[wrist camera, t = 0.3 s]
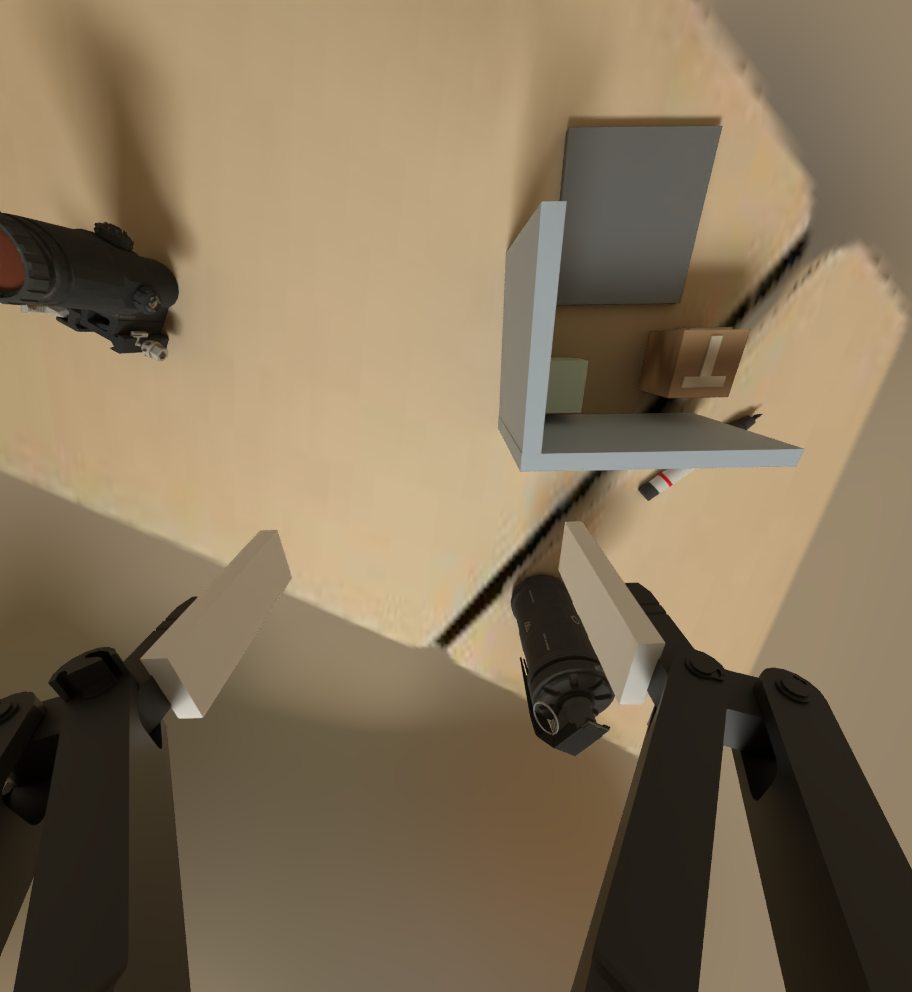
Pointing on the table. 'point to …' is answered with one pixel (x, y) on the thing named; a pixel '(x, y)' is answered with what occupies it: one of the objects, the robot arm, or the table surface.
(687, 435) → the screen
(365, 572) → the table surface
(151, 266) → the scope
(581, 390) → the plain cube
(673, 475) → the marker
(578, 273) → the mat
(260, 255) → the table surface
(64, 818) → the robot arm
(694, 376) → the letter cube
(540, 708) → the grenade
